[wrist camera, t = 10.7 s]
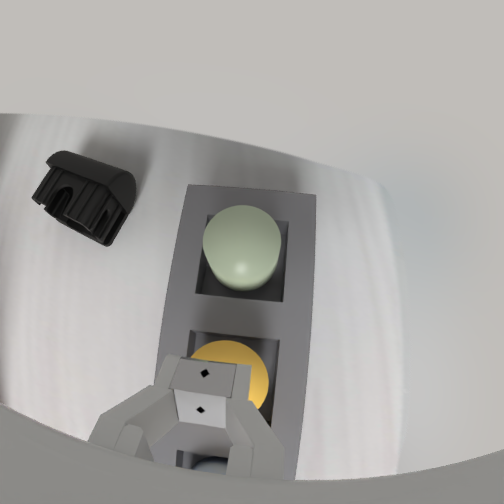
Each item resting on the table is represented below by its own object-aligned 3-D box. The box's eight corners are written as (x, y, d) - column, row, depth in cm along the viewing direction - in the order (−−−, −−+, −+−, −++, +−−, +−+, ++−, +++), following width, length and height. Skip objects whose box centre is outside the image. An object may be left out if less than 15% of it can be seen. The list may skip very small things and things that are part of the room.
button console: (170, 500, 22) (145, 536, 15) (202, 226, 32) (188, 184, 24) (275, 514, 22) (281, 555, 14) (302, 235, 32) (316, 194, 24)
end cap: (145, 195, 34) (125, 159, 27) (113, 250, 31) (83, 223, 25) (84, 171, 35) (60, 139, 29) (54, 219, 33) (24, 192, 26)
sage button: (205, 287, 22) (197, 273, 19) (215, 225, 24) (209, 202, 20) (274, 294, 22) (278, 281, 19) (279, 230, 24) (283, 208, 20)
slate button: (186, 503, 18) (176, 522, 15) (190, 451, 19) (180, 464, 16) (250, 512, 18) (249, 532, 14) (256, 459, 19) (257, 475, 16)
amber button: (190, 408, 19) (179, 415, 16) (198, 340, 21) (188, 335, 18) (262, 417, 19) (263, 426, 16) (269, 348, 21) (272, 344, 17)
